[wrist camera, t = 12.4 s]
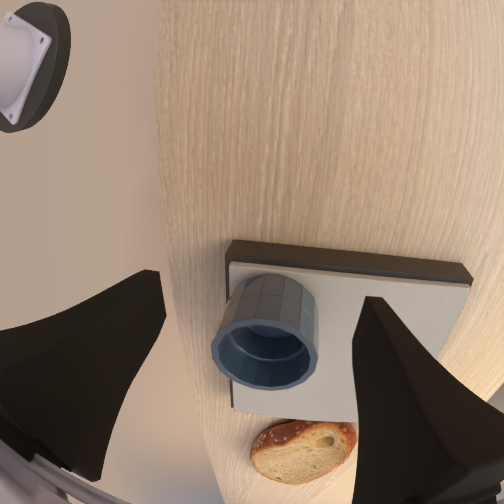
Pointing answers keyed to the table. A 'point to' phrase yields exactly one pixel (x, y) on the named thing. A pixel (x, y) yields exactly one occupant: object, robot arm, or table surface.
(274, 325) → the cup
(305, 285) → the scale
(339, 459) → the slice of bread
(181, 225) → the table surface
